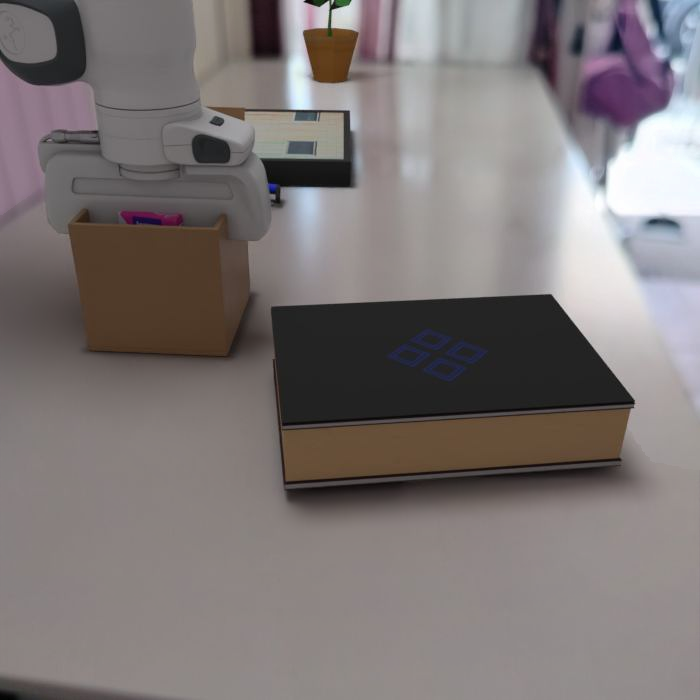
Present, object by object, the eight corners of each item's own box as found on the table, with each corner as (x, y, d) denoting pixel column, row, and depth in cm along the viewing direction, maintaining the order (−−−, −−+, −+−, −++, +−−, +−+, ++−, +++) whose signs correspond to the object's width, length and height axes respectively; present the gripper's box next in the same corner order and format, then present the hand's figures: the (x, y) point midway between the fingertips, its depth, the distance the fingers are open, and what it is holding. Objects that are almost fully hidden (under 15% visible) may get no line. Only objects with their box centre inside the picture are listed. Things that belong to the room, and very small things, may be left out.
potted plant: (283, 72, 187) (280, -73, 172) (362, 70, 190) (365, -72, 175) (292, 89, 171) (289, -69, 156) (378, 87, 174) (383, -68, 159)
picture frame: (176, 107, 140) (349, 110, 140) (178, 129, 142) (349, 131, 142) (138, 158, 114) (351, 161, 114) (141, 184, 116) (350, 187, 116)
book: (273, 371, 72) (270, 305, 68) (541, 357, 75) (551, 293, 71) (284, 499, 57) (281, 422, 53) (618, 474, 60) (636, 400, 56)
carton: (88, 350, 74) (67, 224, 68) (130, 289, 86) (114, 176, 79) (227, 356, 74) (218, 229, 68) (250, 294, 85) (244, 180, 79)
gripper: (19, 138, 67) (47, 287, 74) (261, 146, 66) (266, 296, 73) (47, 119, 72) (72, 259, 79) (271, 126, 72) (276, 267, 79)
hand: (167, 277), depth 76 cm, fingers closed on supplement box, 6 cm apart
